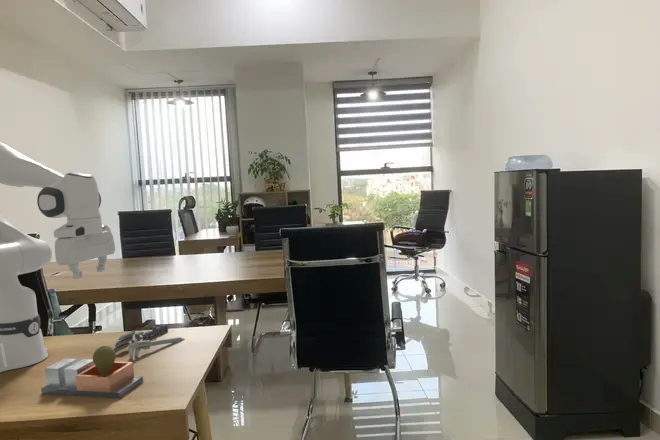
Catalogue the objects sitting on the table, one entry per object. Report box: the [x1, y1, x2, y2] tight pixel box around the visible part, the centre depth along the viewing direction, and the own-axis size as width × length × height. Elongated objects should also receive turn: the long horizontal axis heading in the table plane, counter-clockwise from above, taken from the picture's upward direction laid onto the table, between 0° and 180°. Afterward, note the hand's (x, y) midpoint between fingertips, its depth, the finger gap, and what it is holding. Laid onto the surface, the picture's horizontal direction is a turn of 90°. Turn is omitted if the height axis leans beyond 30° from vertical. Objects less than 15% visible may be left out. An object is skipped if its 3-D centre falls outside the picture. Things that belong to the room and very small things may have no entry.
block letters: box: [113, 324, 169, 354], centre depth 162 cm, size 25×2×6 cm, turn 160°
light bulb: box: [92, 345, 117, 376], centre depth 126 cm, size 6×6×10 cm
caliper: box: [128, 336, 185, 360], centre depth 155 cm, size 20×1×6 cm, turn 145°
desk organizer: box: [40, 357, 144, 399], centre depth 127 cm, size 24×10×6 cm, turn 77°
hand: (89, 274), depth 137 cm, fingers open, 8 cm apart
